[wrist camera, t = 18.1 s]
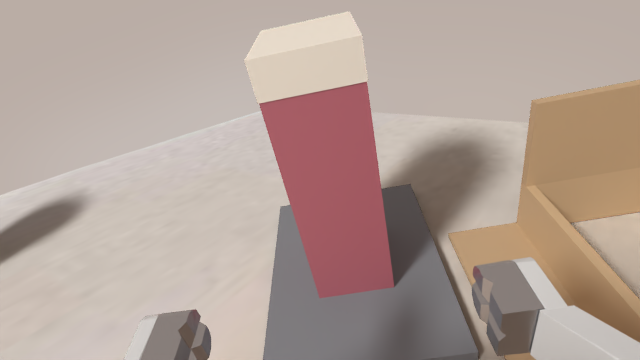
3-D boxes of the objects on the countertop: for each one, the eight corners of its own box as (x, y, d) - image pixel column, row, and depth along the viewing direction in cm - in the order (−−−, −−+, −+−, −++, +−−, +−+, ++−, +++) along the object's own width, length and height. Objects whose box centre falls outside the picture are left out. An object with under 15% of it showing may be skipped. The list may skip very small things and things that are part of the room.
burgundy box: (318, 299, 24) (244, 60, 16) (317, 236, 29) (260, 30, 21) (395, 287, 24) (362, 35, 15) (380, 226, 29) (349, 11, 20)
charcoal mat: (264, 387, 21) (260, 380, 20) (282, 213, 34) (280, 206, 34) (478, 360, 20) (478, 352, 19) (410, 191, 33) (410, 184, 33)
